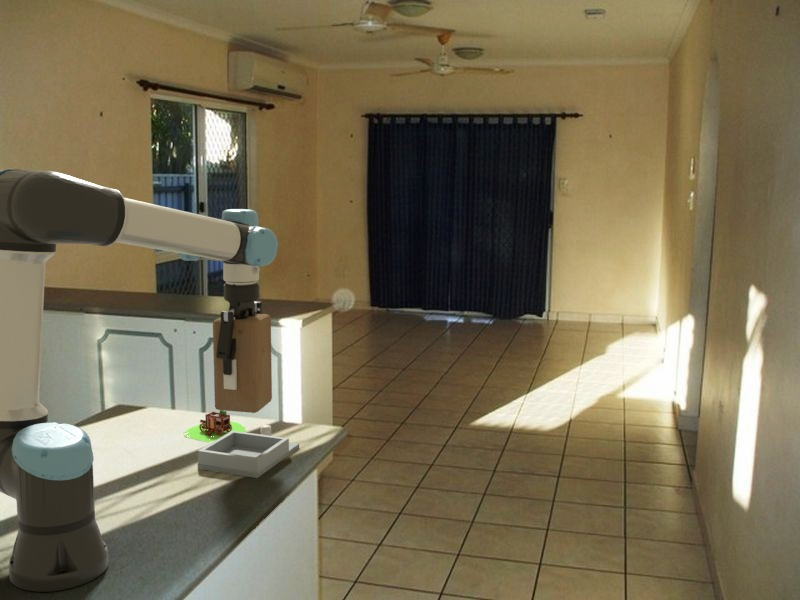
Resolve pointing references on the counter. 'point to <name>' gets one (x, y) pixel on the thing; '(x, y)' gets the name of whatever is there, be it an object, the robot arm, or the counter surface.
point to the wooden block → (246, 365)
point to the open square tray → (245, 453)
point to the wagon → (214, 427)
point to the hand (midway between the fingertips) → (243, 382)
